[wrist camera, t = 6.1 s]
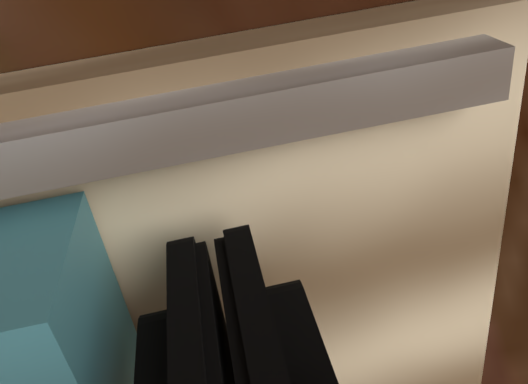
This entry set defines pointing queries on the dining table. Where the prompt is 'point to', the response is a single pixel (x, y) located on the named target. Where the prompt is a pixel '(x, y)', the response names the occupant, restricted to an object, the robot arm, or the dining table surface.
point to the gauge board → (302, 168)
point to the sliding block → (60, 298)
